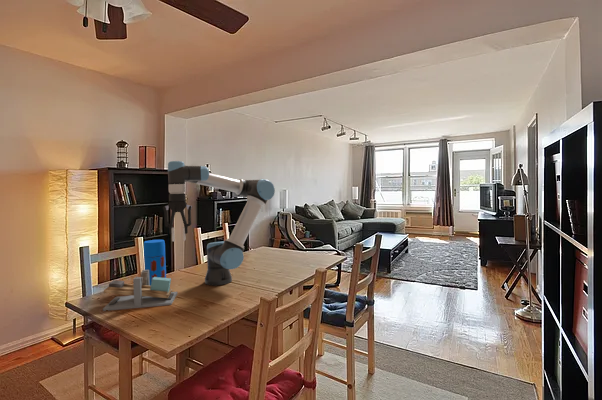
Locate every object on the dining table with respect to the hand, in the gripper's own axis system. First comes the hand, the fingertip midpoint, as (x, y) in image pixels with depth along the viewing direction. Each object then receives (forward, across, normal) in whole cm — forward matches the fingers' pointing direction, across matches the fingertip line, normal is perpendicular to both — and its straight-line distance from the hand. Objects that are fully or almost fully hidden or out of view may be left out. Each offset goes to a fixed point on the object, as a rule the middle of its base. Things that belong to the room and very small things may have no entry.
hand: (178, 240), depth 158 cm
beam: (+24, +19, 0) cm, 31 cm away
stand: (+29, +18, 0) cm, 34 cm away
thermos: (+29, +18, -27) cm, 43 cm away
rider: (+24, +10, 0) cm, 26 cm away
